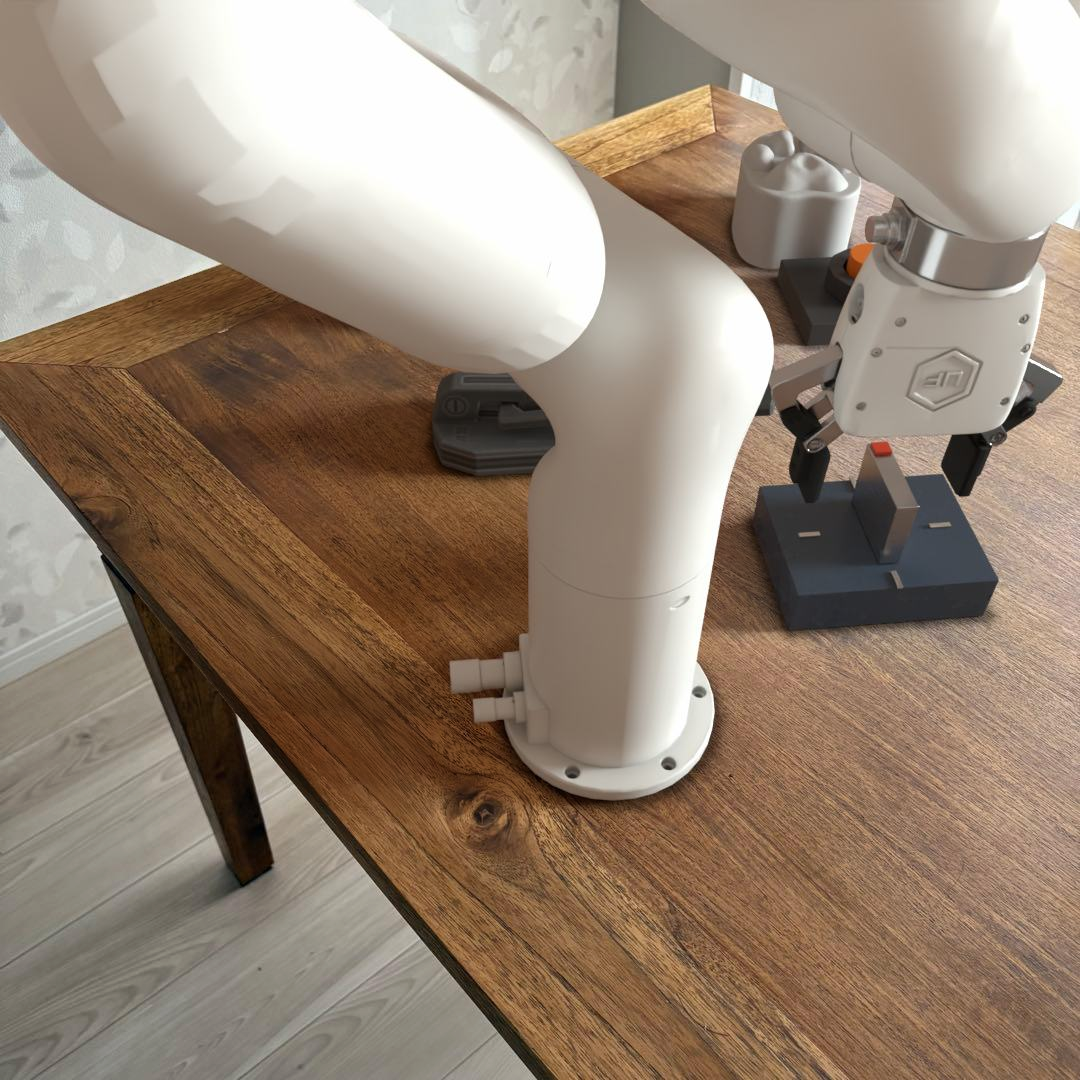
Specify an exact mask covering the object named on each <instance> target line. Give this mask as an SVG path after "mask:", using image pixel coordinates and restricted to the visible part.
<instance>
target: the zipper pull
mask: <svg viewBox="0 0 1080 1080" xmlns="http://www.w3.org/2000/svg"><path fill="white" fill-rule="evenodd" d="M774 371H776V369H775V366H774V365H773V366H772V371H771V372H774ZM775 408H776V406H775V404H774V401H773V399H772V396H771V394H770V391H769V389H768V386H767V388H766V390H765V393H764V395H763V398H762V400H761V403H760V405H759V407H758V409H757V411H756V413H755V416H754V417H770V416H772V415H773V414H774V413H775ZM432 410H433V412H432V418H431V425H432V426H431V427H432V428H431V429H432V438H433V444H434V447H435V450H436V453H437V455H438V458H439V460H440V463H441V464H442V466H444V467H446V468H450V469H453V470H456V471H460V472H463V473H466V474H468V475H469V474H470V475H471V476H475V477H485V476H487V477H489V476H501V475H502V476H503V475H505V476H506V475H519V474H521V475H523V474H533V472H534V470H535V468H536V466H537V464H538V463H539V461H540V460H541V458H542V457H543V456H544V455H545V454H546V453H547V452H548V451H549V450H550V449H551V448H552V447H554V446H555V434H554V430H553V428H552V425H551V423H550V421H549V419H548V418H547V416H546V414H545V412H544V411H543V410H542V409H541V407H540V406H539V405H538V404H537V403H536V402H535V401H534V400H533V399H532V398H531V397H530V396H529V395H528V394H527V393H526V392H525V391H524V390H523V389H522V388H521V387H520V386H519V385H518V384H517V383H516V382H515V381H514V380H513V378H512V377H511V376H510V375H509V374H508V373H499V374H487V373H471V372H462V371H454V372H451V373H449V374H447V375H445V376H443V377H442V378H441V379H440V381H439V383H438V386H437V390H436V395H435V399H434V405H433V409H432Z"/></svg>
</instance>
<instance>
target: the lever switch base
mask: <svg viewBox="0 0 1080 1080" xmlns="http://www.w3.org/2000/svg"><path fill="white" fill-rule="evenodd" d="M904 477H905V479H906V481H907V483H908V485H909V487H910V489H911V491H912V494H913V496H914V498H915V500H916V502H917V504H918V506H919V508H918V511H917V514H916V516H915V519H914V522H913V525H912V528H911V531H910V534H909V537H908V539H907V542H906V545H905V548H904V551H903V554H902V557H901V560H900V562H899V563H886V564H879V563H878V561H877V558H876V556H875V554H874V551H873V549H872V547H871V544H870V542H869V540H868V537H867V535H866V533H865V530H864V528H863V526H862V523H861V521H860V519H859V516H858V514H857V511H856V509H855V507H854V504H853V502H852V496H853V492H854V489H855V485H856V482H857V479H856V478H855V476H849V477H848V480H847V479H846V480H832V481H824V482H823V486H822V489H821V493H820V496H819V499H818V501H816V502H815V503H805V501H804V498H803V496H802V494H801V491H800V489H799V486H798V484H793V483H789V484H787V483H785V484H774V485H773V484H772V485H761V486H759V487H758V491H757V492H758V493H757V497H756V500H755V501H756V502H755V506H754V512H753V517H752V520H751V521H752V522H751V523H752V526H753V529H754V531H755V534H756V537H757V540H758V543H759V547H760V549H761V552H762V555H763V559H764V562H765V564H766V567H767V571H768V574H769V577H770V579H771V582H772V585H773V588H774V592H775V594H776V597H777V600H778V604H779V606H780V609H781V612H782V614H783V615H782V616H783V618H784V622H785V623H786V627H787V630H788V632H792V631H804V630H818V629H819V630H820V629H830V628H831V629H832V628H842V627H844V628H845V627H855V626H856V627H857V626H868V625H870V626H871V625H880V624H881V625H882V624H894V623H895V624H896V623H906V622H908V623H909V622H918V621H919V622H920V621H932V620H943V619H944V620H945V619H956V618H970V617H972V618H973V617H982V616H985V613H986V611H987V608H988V606H989V604H990V601H991V599H992V597H993V594H994V592H995V590H996V588H997V586H998V584H999V581H1000V579H999V577H998V574H997V573H996V572H995V570H994V568H993V565H992V564H991V562H990V560H989V557H988V556H987V554H986V551H985V550H984V548H983V547H982V545H981V543H980V541H979V539H978V537H977V535H976V533H975V532H974V530H973V528H972V526H971V524H970V522H969V520H968V518H967V516H966V515H965V512H964V510H963V509H962V507H961V505H960V503H959V501H958V500H957V497H956V496H955V493H954V491H953V489H952V487H951V485H950V483H949V481H948V479H947V477H946V476H945V474H944V473H936V474H933V473H932V474H920V475H906V476H905V475H904Z"/></svg>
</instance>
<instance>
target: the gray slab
mask: <svg viewBox="0 0 1080 1080" xmlns="http://www.w3.org/2000/svg"><path fill="white" fill-rule="evenodd" d="M904 476H905V475H904V473H903V470H902V469H901V467H900V464H899V462H898V461H897V458H896V457H895V454H894V452H893V449H892V448H891V446H890V444H889V442H888V441H875V442H874V441H871V442H870V443H867V444H866V447H865V450H864V454H863V458H862V461H861V464H860V468H859V470H858V475H857V479H856V480H857V482H856V485H855V489H854V492H853V496H852V502H853V504H854V507H855V509H856V511H857V514H858V516H859V519H860V521H861V523H862V526H863V528H864V530H865V533H866V535H867V537H868V540H869V542H870V544H871V547H872V549H873V551H874V554H875V556H876V558H877V561H878V563H879V564H886V563H899V562H900V560H901V557H902V554H903V551H904V548H905V545H906V542H907V539H908V537H909V534H910V531H911V528H912V525H913V522H914V519H915V516H916V514H917V511H918V508H919V506H918V504H917V502H916V500H915V498H914V496H913V494H912V491H911V489H910V487H909V485H908V483H907V481H906V479H905V477H904Z"/></svg>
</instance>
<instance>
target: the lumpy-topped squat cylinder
mask: <svg viewBox="0 0 1080 1080" xmlns="http://www.w3.org/2000/svg"><path fill="white" fill-rule="evenodd" d="M861 189H862V178H861V177H859V176H858V175H856V174H854V173H852V172H851V171H849V170H847V169H845V168H844V167H842V166H840V165H839V164H837V163H835V162H833V161H831V160H829V159H828V158H826V157H824V156H822V155H820V154H819V153H817V152H816V151H814V150H813V149H811V148H810V147H808V146H807V145H805V144H804V143H803V142H802V141H800V140H799V139H798V138H797V137H796V136H795V135H794V134H793V133H792V132H791V131H790V130H789V129H779V130H776V131H771V132H768V133H765V134H763V135H761V136H759V137H756V139H754V140H753V141H752V142H751V143H750V144H748V145H747V146H746V147H745V149H743V151H742V155H741V159H740V165H739V171H738V180H737V186H736V192H735V200H734V207H733V214H732V220H731V234H732V235H731V236H732V240H733V243H734V245H735V248H736V251H737V254H738V255H739V256H740V258H741V259H742V260H744V262H746V263H748V264H749V265H751V266H754V267H756V268H760V269H766V270H779V268H780V263H781V260H784V259H803V258H822V257H833V255H835V254H837V253H839V252H842V251H844V250H846V249H848V246H849V242H850V237H851V233H852V229H853V225H854V220H855V216H856V211H857V207H858V203H859V198H860V194H861Z"/></svg>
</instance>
